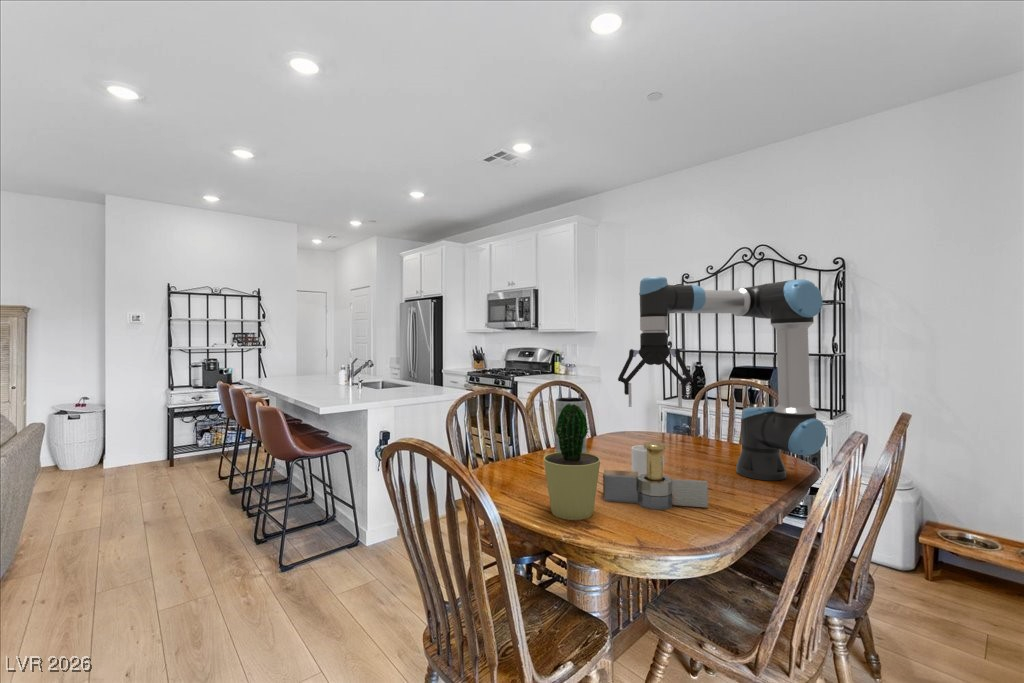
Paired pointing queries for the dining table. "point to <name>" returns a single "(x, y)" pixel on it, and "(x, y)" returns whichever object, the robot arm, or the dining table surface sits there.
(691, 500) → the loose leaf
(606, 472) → the block
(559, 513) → the potted cactus
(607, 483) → the hinge base
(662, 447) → the hinge pin
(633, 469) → the mug
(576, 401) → the vase
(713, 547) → the dining table surface
